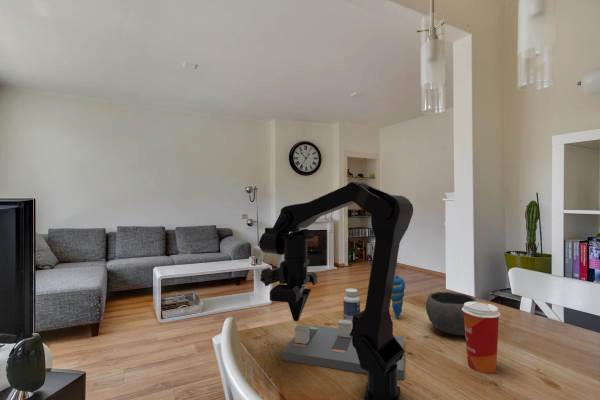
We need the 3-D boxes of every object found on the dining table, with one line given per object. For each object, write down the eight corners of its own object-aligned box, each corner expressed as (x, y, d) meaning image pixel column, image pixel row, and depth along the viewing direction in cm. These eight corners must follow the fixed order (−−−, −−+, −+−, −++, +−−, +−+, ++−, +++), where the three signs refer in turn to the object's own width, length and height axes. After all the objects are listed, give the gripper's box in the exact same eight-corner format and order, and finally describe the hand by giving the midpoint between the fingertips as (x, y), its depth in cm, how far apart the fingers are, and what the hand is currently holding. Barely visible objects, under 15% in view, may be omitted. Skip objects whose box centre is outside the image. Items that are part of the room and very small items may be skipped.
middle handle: (350, 337, 82) (350, 324, 82) (338, 336, 83) (338, 322, 83) (352, 334, 84) (352, 320, 84) (340, 332, 85) (340, 319, 85)
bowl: (490, 345, 82) (489, 307, 82) (429, 339, 86) (429, 303, 86) (474, 324, 96) (474, 292, 96) (423, 320, 100) (423, 289, 100)
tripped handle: (306, 344, 78) (306, 329, 78) (294, 342, 79) (294, 328, 79) (309, 340, 80) (309, 326, 81) (297, 338, 82) (297, 324, 82)
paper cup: (466, 355, 76) (465, 298, 76) (503, 365, 71) (502, 305, 72) (459, 368, 70) (458, 307, 70) (499, 380, 65) (497, 314, 66)
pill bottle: (360, 323, 97) (359, 292, 97) (343, 322, 98) (342, 292, 98) (360, 317, 102) (360, 288, 102) (344, 316, 103) (343, 287, 104)
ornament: (387, 319, 100) (387, 273, 101) (390, 314, 105) (390, 270, 105) (404, 322, 98) (403, 275, 98) (406, 317, 103) (406, 271, 103)
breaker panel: (403, 380, 66) (403, 370, 66) (282, 359, 75) (282, 351, 75) (403, 343, 83) (403, 335, 83) (304, 331, 92) (304, 323, 92)
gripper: (279, 250, 87) (280, 305, 87) (248, 261, 69) (248, 331, 69) (317, 251, 83) (318, 309, 83) (294, 264, 66) (295, 337, 65)
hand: (296, 320), depth 75 cm, fingers closed
